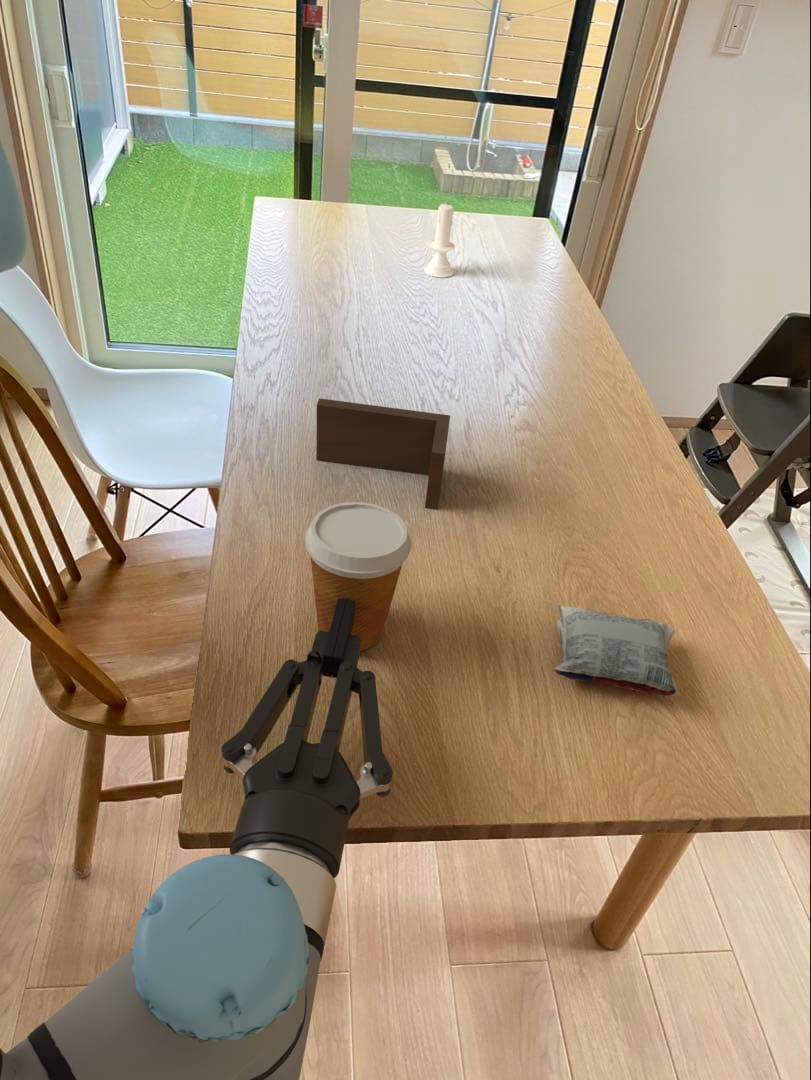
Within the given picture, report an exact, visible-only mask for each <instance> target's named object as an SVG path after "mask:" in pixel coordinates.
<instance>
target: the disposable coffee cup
mask: <svg viewBox="0 0 811 1080" xmlns="http://www.w3.org/2000/svg"><path fill="white" fill-rule="evenodd" d="M304 543H305V548H306V550H307V552H308V554H309V556H310V566H311V574H312V583H313V593H314V603H315V611H316V619H317V620H316V622H317V630H318V631H326V632H329V631H330V627H331V623H332V619H333V616H334V612H335V608H336V604H337V600H338V598H339V599H346V602H347V600H353V601H355V619H354V625H353V629H352V634H351V635H354V636H360V640H361V647H360V651H364V650H368V649H369V648H371V647H373V646H375V645H377V643H379V641H380V640H381V638H382V637H383V633H384V630H385V626H386V623H387V619H388V615H389V613H390V609H391V605H392V602H393V598H394V595H395V591H396V588H397V585H398V581H399V577H400V574H401V571H402V567H403V564H404V563H405V561H406V560H407V559H408V557H409V555H410V553H411V550H412V540H411V536H410V535H409V532H408V529H407V525H406V523H405V522H404V520H403V519H402V518H401V517H400V516H399V515H398V514H396V513H395V512H393V511H392V510H390V509H388V508H385V507H384V506H381V505H378V504H374V503H369V502H363V501H360V502H359V501H349V502H346V501H345V502H341V503H336V504H333V505H330V506H327V507H325V508H323V509H322V510H320V511H319V512H318V513H317V514H315V515H314V517H313V519H312V521H311V523H310V525H309V526H308V528H307V529H306V531H305V535H304ZM318 631H317V632H318Z"/></svg>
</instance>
